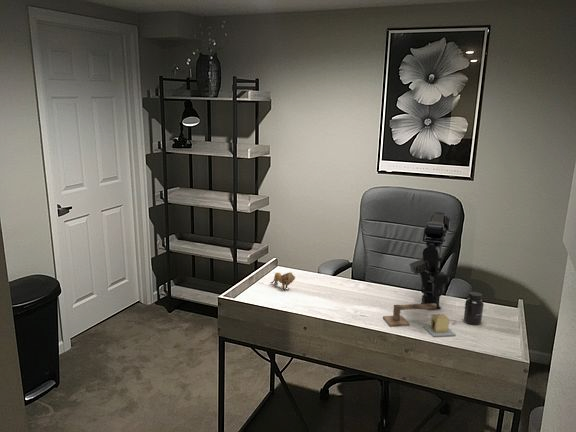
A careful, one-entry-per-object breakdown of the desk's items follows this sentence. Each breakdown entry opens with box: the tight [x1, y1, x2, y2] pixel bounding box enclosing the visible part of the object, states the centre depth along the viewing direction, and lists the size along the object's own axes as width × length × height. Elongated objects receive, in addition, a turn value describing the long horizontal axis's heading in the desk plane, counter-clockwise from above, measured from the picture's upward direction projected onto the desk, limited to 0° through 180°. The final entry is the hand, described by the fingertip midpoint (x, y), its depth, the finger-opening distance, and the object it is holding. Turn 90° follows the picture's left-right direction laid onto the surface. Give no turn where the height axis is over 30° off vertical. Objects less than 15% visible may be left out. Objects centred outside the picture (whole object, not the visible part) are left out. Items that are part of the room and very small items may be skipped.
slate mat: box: [422, 324, 457, 338], centre depth 184 cm, size 9×9×1 cm
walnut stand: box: [382, 303, 437, 328], centre depth 192 cm, size 20×8×7 cm, turn 99°
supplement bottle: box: [463, 291, 485, 326], centre depth 193 cm, size 7×7×12 cm
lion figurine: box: [270, 271, 296, 291], centre depth 225 cm, size 15×5×9 cm, turn 47°
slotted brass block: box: [430, 313, 450, 333], centre depth 184 cm, size 5×5×6 cm
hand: (429, 291), depth 192 cm, fingers open, 9 cm apart
